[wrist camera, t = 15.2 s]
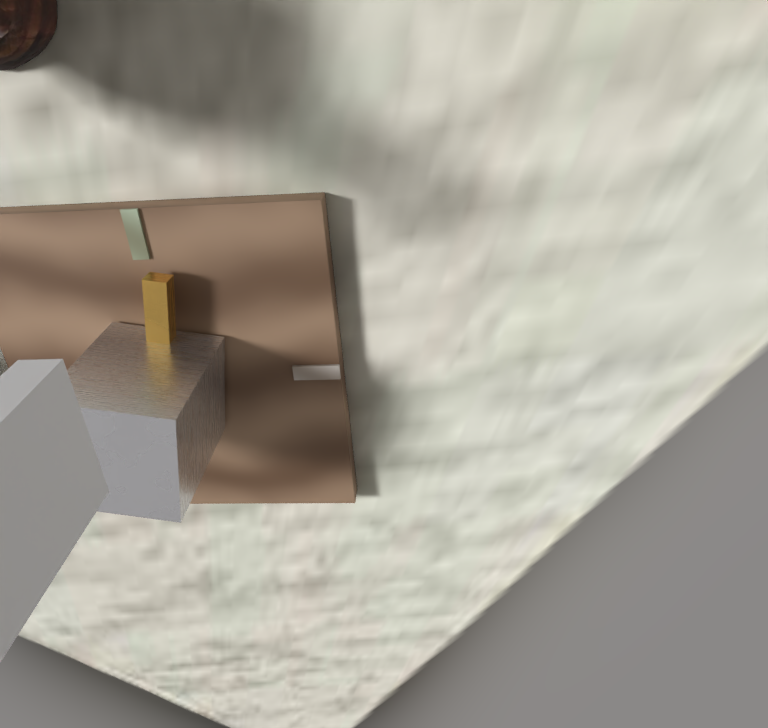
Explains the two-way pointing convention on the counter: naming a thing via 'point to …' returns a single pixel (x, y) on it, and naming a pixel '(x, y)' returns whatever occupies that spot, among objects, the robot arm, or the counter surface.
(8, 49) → the mortar and pestle
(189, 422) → the grey block with bar
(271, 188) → the counter surface
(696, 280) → the counter surface
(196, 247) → the board
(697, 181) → the counter surface
